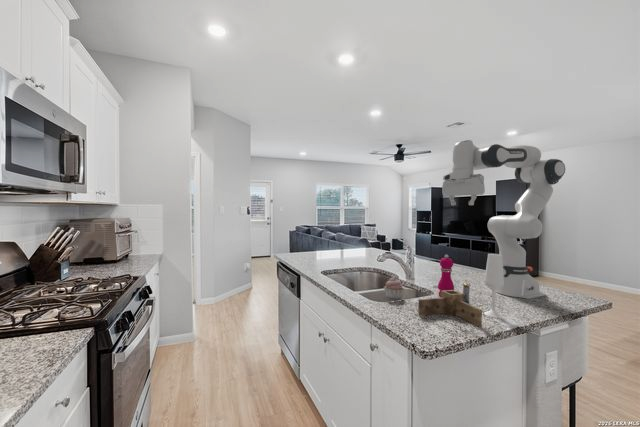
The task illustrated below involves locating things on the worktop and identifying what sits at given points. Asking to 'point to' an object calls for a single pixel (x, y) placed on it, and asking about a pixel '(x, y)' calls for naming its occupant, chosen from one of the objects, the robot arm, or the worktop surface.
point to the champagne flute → (494, 280)
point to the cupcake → (393, 289)
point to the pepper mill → (445, 275)
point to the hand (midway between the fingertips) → (462, 205)
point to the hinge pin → (466, 292)
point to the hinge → (451, 307)
